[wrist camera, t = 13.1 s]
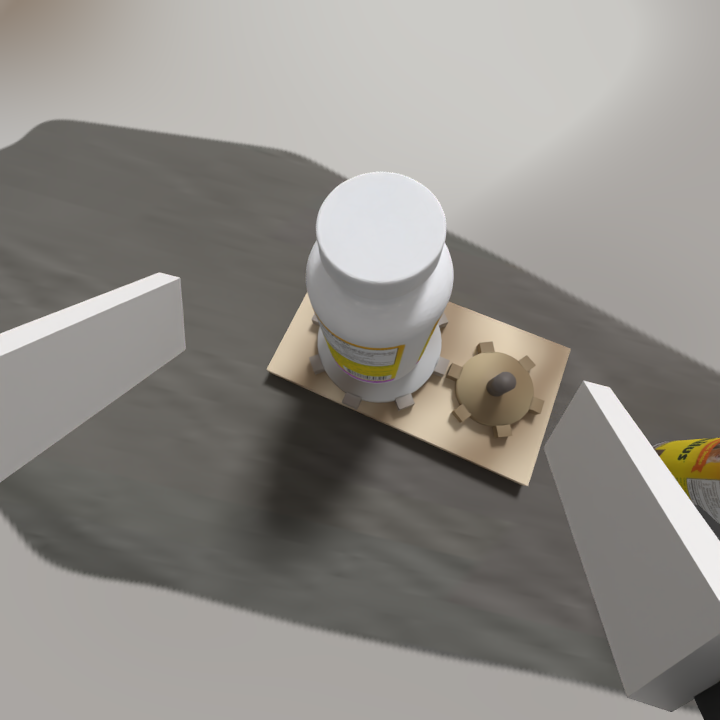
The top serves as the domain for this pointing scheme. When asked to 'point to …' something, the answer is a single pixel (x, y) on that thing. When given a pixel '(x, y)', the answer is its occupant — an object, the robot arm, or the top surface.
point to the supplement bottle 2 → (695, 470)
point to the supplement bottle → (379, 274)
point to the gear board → (446, 387)
